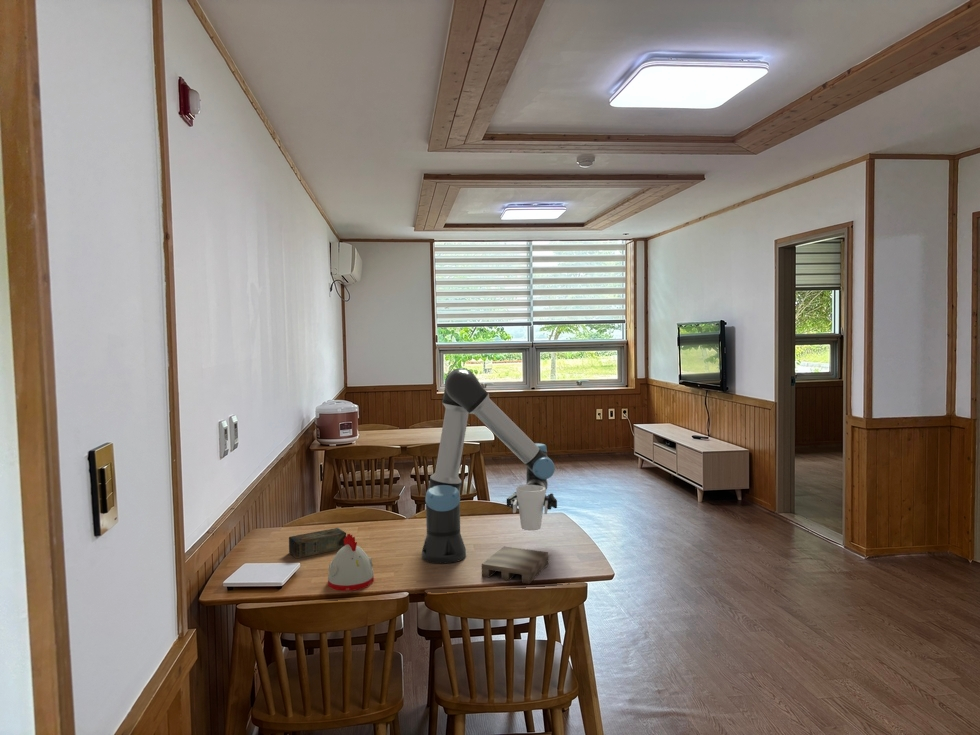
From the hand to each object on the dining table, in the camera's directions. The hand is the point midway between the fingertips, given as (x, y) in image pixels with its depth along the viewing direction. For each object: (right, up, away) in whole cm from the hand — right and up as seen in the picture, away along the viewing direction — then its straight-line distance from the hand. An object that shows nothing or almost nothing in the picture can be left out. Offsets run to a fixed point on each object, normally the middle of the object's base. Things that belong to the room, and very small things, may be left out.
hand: (529, 509), depth 201 cm
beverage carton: (-74, -21, +25) cm, 81 cm away
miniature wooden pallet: (-4, -20, +2) cm, 21 cm away
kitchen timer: (-56, -22, -5) cm, 60 cm away
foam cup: (+1, -7, +5) cm, 9 cm away
